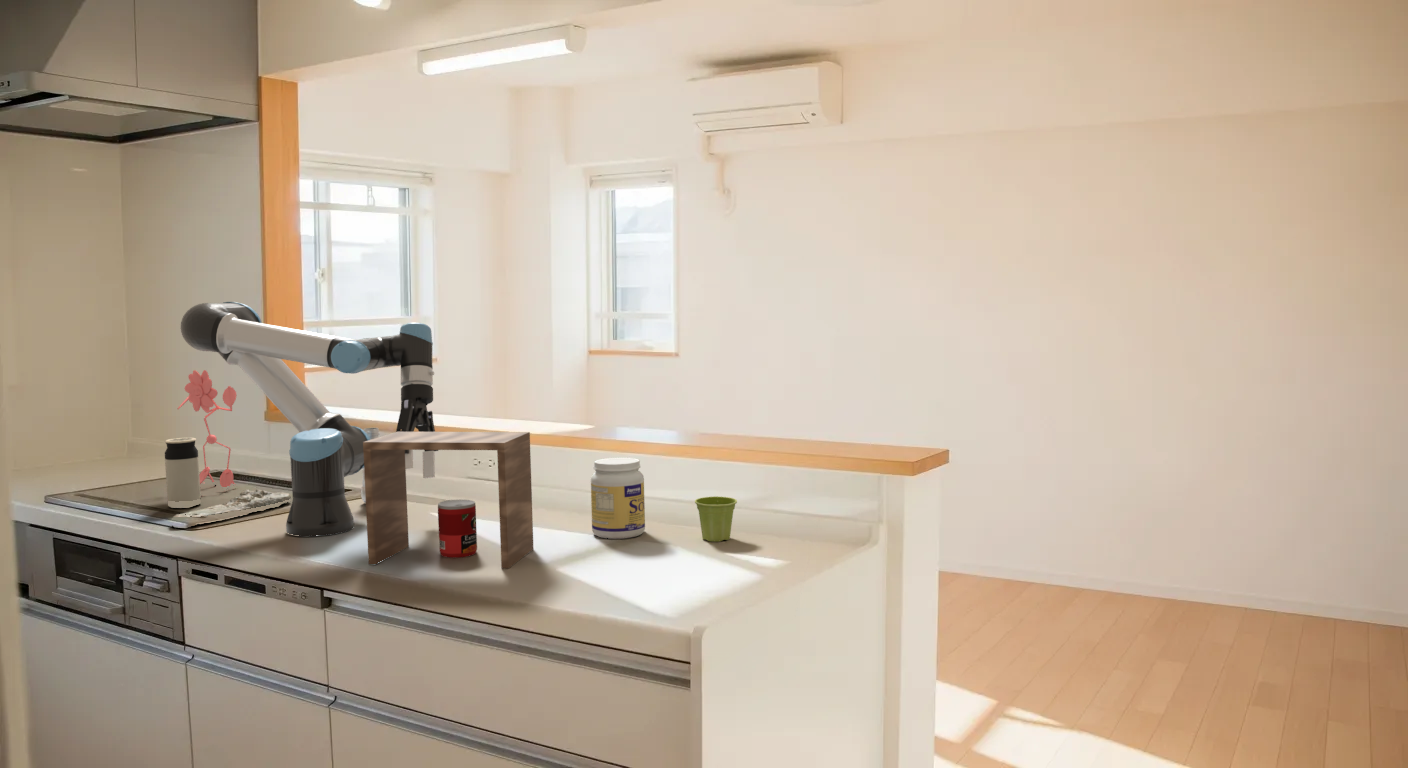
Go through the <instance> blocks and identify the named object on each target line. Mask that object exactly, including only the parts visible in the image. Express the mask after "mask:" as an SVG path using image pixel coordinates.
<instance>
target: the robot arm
mask: <svg viewBox="0 0 1408 768" xmlns="http://www.w3.org/2000/svg"><path fill="white" fill-rule="evenodd" d="M399 330H400V331H399V334H394V335H387V336H377V337H366V338H364V337H363V338H361V339H356V338H355V339H353V338H347V337H343V336H342V337H341V336H337V335H336V336H335V335H329V334H325V333H320V332H319V333H318V332H312V331H309V330H308V331H307V330H301V329H297V328H296V329H295V328H290V327H285V326H280V325H273V324H268V323H262V320H261V318H260V315H259V314H258V313H257V312H256V310H255V309H254V308H252V307H251V306H249V305H247V304H244V303H241V302H236V301H225V302H204V303H197V304H196V305H194V306H191V307H190V308H189V309H188V310H186V312H185V313H184V315H182V318H181V321H180V333H181V335H182V336H181V337H182V338H183V339H184V341H185V342H186V343H187V344H188V345H189V346H190V347H191V348H193V349H195V350H197V351H200V352H201V351H202V352H211V353H213V352H214V353H218V354H219V355H220V357H221V358H222V359H224V361H225V362H226V363H227V364H228V365H232V366H238V367H239V368H241V370H242V371H243V372H244V374H245V375H247V376H248V378H249V379H250V380H251V381H252V382H253V383H254V384H255V385H256V386H257V387H258V389H259V390H260V391H261V392H262V393H263V394H264V395H265V396H266V397H267V398H268V399H269V400H270V401H271V402H272V404H273V405H274V406H275V407H276V408H277V409H278V410H279V412H280V413H281V414H282V415H283V416H284V417H285V418H286V419H287V421H289V422H290V424H292V426H293V427H294V428H295V429H296V430H297V431H298V433H296V434H294V435H293V436H292V437H291V439H290V442H289V446H290V447H289V452H288V453H289V457H290V458H289V459H290V473H291V474H290V475H291V476H290V477H291V489H292V490H291V491H292V492H291V493H292V500H291V501H292V502H291V505H290V509H289V512H288V516H287V519H286V523H285V530H286V532H287V533H289V534H293V535H299V536H298V537H303V536H310V537H317V536H316V535H325V536H331V535H330V534H332V535H337V534H336V533H338V534H341V532H342V533H345V531H346V532H349V531H351V530H352V528H353V529H354V527H355V520H354V515H353V513H352V511H351V509H350V506H349V503H348V500H347V498H346V495H345V477H348V476H352V475H355V474H357V473H359V471H361V470H363V469H362V468H364V452H363V442H365V441H368V440H370V438H369V436H368V434H367V433H366V432H365V431H364V429H362V428H361V427H358V426H355V425H351V423H349V422H348V421H347V420H346V419H345V418H344V417H343V416H342V415H341V414H339V413H333V412H330V411H329V409H327V408H326V406H325V405H324V404H323V403H322V401H320V400H319V399H318V397H317V396H316V395H315V394H314V393H313V392H312V391H311V390H310V389H309V388H308V387H307V385H306V384H305V383H303V381H302V380H301V379H300V378H299V377H298V376H297V375H296V373H295V372H294V371H293V370H292V369H291V368H290V367H289V366H288V364H286V363H285V362H284V360H286V361H291V362H297V363H302V364H307V365H314V366H319V367H325V368H329V369H335V370H337V371H339V372H341V373H343V374H359V373H361V372H365V371H371V370H375V369H382V368H389V367H399V366H400V386H401V388H400V412H399V416H398V421H397V426H396V430H395V432H415V429H417V432H436V429H435V425H434V415H433V411H432V410H428V407H427V406H428V405H429V404H431V403H433V402H434V388H433V387H432V386H433V385H434V381H433V376H435V372H434V370H433V345H434V343H433V339H432V338H433V335H432V328H431V327H430V326H429V325H427V324H425V323H421V322H408V323H405V324H403V325H401V327H400V329H399ZM435 452H439V450H423V451H422V478H423V479H431V478H436V471H435V469H436V463H435V461H436V460H435ZM405 468H406V470H407V469H408V470H410V469H413V468H414V450H405ZM348 530H349V531H348ZM287 533H286V534H287ZM289 534H288V535H289Z"/></svg>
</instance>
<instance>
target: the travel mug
mask: <svg viewBox="0 0 1408 768" xmlns="http://www.w3.org/2000/svg"><path fill="white" fill-rule="evenodd" d="M196 441H197V438H195V437H177V438H176V437H175V438H169V439H166V440H165V441H164V442H165V444H166V450H165V451H164V463H165V464H164V466H165V480H166V496H167V502H168V501H175V502H179V501H193V500H197V499H200V498H201V496H202V495H201V494H202V493H201V484H200V477H199V474H200V463H199V450H198V448H197V446H195V445H196ZM201 499H202V498H201Z"/></svg>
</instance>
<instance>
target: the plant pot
mask: <svg viewBox="0 0 1408 768" xmlns="http://www.w3.org/2000/svg"><path fill="white" fill-rule="evenodd" d="M694 503H695V504H696V509H697V511H698V515H699V516H698V517H699V522H700V530H701V537H702V539H703V540H706V541H707V542H711V543H712V542H715V543H716V542H717V543H718V542H723V541H728V540H730V539H731V535H732V534H731V532H732V525H733V515H734V510H735V507H736V504H737V503H738V500H737V499H736V498H733V497H728V496H716V495H715V496H704V497H700V498H696V499H695V500H694Z"/></svg>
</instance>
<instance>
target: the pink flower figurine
mask: <svg viewBox="0 0 1408 768" xmlns="http://www.w3.org/2000/svg"><path fill="white" fill-rule="evenodd" d="M187 376H188V380H189V381H190V382H188V383H187V384H185V386H184V391H185V392H186V393H188V396H187V397H186V398H185V399H184V400H183V401H182V402H181V404H180V405H179V406H178V407H177V410H179V409H180V408H181V407H182V406H184V405H185V404H187V402H188V401H189V403H191V404H192V407H193V410H194V412H199V411H200V409H202V410H203V412H205V413H207V414H206V415H205V416H204V418H203V421H204V424H205V427H206V430H207V433H208V435H207V436H206V441H205V443H203V446H202V452H203V459H204V468H203V469H202V471H200V472H199V477H200V485H202V484H203V483H204V481H205V480H206V478H208V477H209V479H210V480H211V482H212V483H213V482H215V480H214V478H213V476H212V475H211V473H210V470H211V468H210V466H207V461H206V460H207V459H206V452H205V450H206V449H205V447H206V445H207V444H209V445H210V444H211V445H214V444H218V445H220V446H221V447H225V448H226V449H228V455H227V463H226V464H227V466H226V469H225V470H222V473H221V474H220V476H219V484H220V486H221V488H222V487H227V486H229V487H230V486H231V485H233V484H235V485H236V483H235V481H234V473H233V471H232V470H231V469H229V465H230V456H231V451H232V450H231V447H229V446H228V445H224V444H222V443H221V442H218V441H217V440H218V439H217V436H216V435H215V434H211V432H210V428H209V425H208V422H207V418H208V417H209V416H211V415H213V413H215V412H217V410H218V411H219V410H221V411H222V410H223V411H228V412H233V405H234V404H235V402H236V399H237V391H236V390H235V388H234V387H231V385H228V386H227V388H225V389H224V391H223V394H222V401H223V403H224V404H225V405H226V406H227V407H229V408H226V407H222V406H219V405H218V404H217V403H216V402H215V400H214V399H216V398H217V396H218V390H217V389H215V388H214V387H212V386H213V380H212V379H211V378H210V375H209V373H208V371H207V369H206V370H205V369H204V370H203V371H202V373H199V372H198V371H197V370H196V369H194V370H193V371H192V373H189V374H188V375H187ZM214 406H215V407H214ZM213 407H214V408H213ZM211 408H212V409H211ZM201 483H202V484H201Z"/></svg>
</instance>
